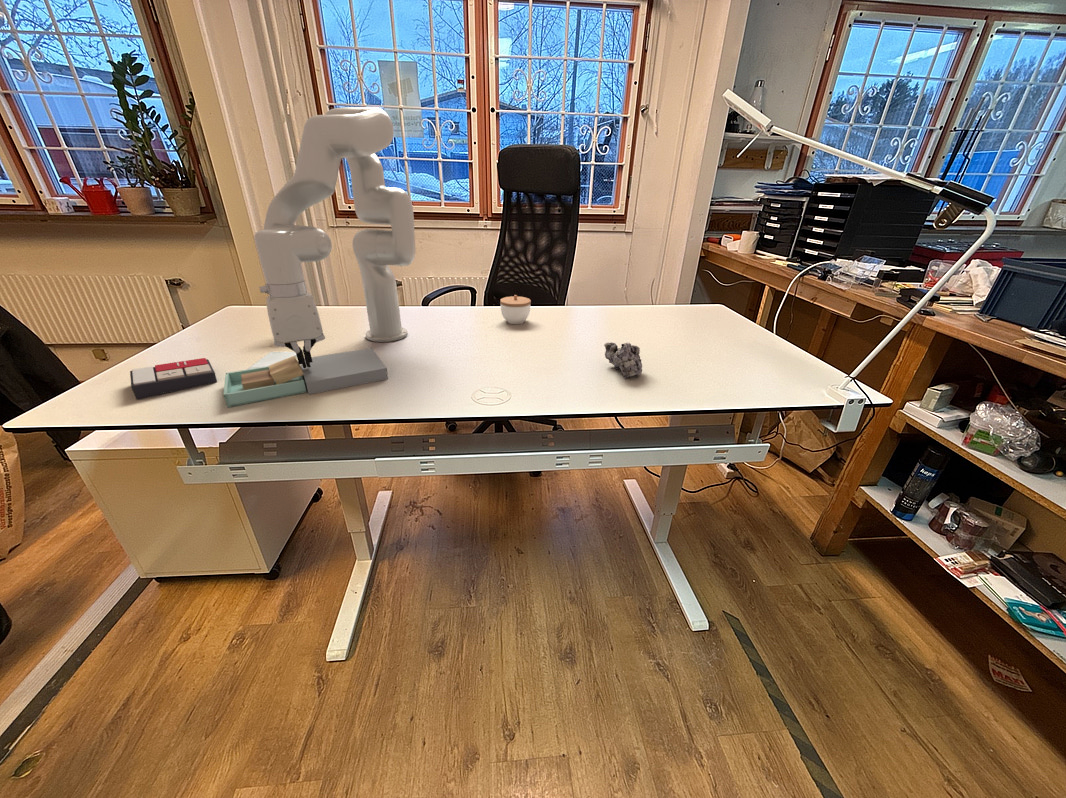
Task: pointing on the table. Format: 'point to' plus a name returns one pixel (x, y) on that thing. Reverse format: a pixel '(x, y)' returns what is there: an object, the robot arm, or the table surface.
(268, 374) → the tile walnut
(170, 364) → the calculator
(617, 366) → the mineral specimen
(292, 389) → the tray
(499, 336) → the table surface
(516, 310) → the lidded jar
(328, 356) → the board
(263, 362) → the hard drive
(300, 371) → the tile oak
